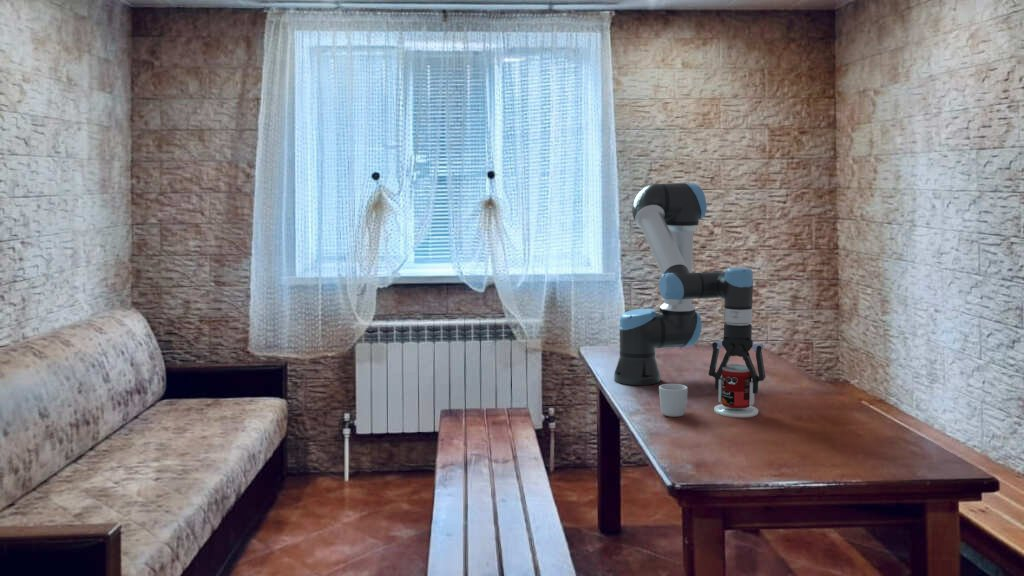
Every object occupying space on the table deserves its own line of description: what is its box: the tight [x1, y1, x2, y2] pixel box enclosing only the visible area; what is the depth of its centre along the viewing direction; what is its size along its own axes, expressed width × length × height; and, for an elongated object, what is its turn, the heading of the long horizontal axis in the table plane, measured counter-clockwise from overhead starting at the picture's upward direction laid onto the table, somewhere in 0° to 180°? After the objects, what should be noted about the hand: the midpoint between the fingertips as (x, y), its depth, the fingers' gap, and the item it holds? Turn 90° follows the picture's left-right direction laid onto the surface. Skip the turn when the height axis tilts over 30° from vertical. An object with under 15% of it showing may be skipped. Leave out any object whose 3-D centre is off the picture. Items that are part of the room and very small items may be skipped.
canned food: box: [721, 363, 752, 408], centre depth 231 cm, size 8×8×11 cm
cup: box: [658, 383, 689, 418], centre depth 231 cm, size 11×8×8 cm
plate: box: [713, 403, 759, 419], centre depth 232 cm, size 12×12×1 cm
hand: (736, 402), depth 232 cm, fingers closed on canned food, 8 cm apart
